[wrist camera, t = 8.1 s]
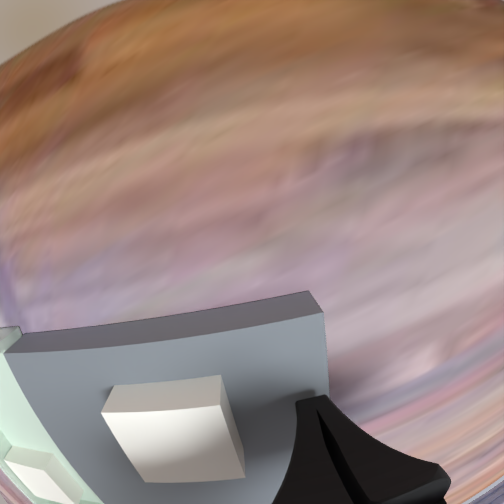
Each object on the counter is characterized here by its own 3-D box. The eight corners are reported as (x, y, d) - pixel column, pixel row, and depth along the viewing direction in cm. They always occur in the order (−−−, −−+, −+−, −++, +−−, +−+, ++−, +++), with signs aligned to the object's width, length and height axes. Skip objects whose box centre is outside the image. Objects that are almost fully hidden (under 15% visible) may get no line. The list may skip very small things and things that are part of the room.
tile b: (243, 448, 13) (245, 477, 11) (151, 455, 13) (145, 482, 11) (221, 374, 12) (219, 404, 10) (114, 385, 12) (100, 412, 10)
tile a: (35, 496, 15) (42, 481, 17) (77, 506, 15) (83, 490, 17) (3, 459, 14) (12, 445, 16) (44, 470, 14) (53, 453, 16)
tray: (129, 505, 18) (123, 531, 15) (52, 492, 18) (43, 513, 15) (18, 326, 14) (-9, 349, 11) (-51, 332, 14) (-74, 349, 11)
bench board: (324, 487, 18) (331, 510, 16) (130, 502, 18) (125, 524, 15) (308, 290, 14) (323, 312, 12) (25, 333, 14) (2, 353, 12)
